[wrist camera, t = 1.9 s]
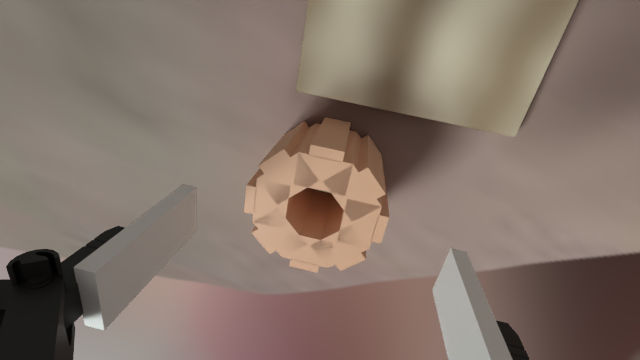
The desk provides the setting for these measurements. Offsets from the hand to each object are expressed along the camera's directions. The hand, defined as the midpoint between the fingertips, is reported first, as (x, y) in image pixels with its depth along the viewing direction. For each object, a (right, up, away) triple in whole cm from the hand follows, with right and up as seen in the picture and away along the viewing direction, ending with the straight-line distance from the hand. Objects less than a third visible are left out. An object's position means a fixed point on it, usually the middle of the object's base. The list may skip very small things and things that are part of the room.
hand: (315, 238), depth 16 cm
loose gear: (+1, +3, +7) cm, 8 cm away
